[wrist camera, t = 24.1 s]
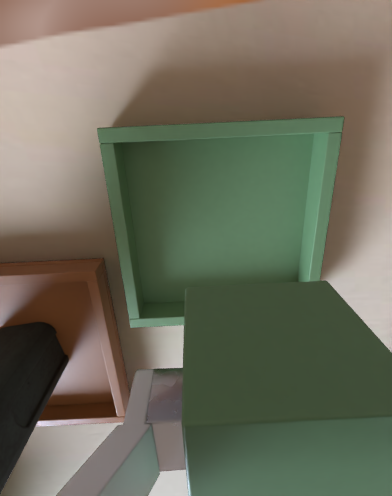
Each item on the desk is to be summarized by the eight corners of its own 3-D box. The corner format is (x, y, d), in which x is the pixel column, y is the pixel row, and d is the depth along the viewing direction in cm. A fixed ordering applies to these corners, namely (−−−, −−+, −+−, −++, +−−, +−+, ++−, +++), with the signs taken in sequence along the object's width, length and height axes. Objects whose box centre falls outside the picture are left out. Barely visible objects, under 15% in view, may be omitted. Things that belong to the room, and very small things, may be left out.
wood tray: (-89, 267, 21) (-117, 281, 19) (103, 258, 21) (95, 271, 19) (-18, 408, 27) (-34, 430, 26) (131, 401, 27) (127, 422, 26)
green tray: (108, 127, 18) (96, 128, 15) (324, 117, 18) (345, 116, 15) (136, 307, 23) (130, 327, 21) (301, 299, 23) (314, 319, 21)
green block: (184, 286, 9) (180, 425, 5) (327, 279, 9) (447, 411, 5) (192, 389, 11) (193, 555, 6) (310, 383, 11) (387, 544, 6)
